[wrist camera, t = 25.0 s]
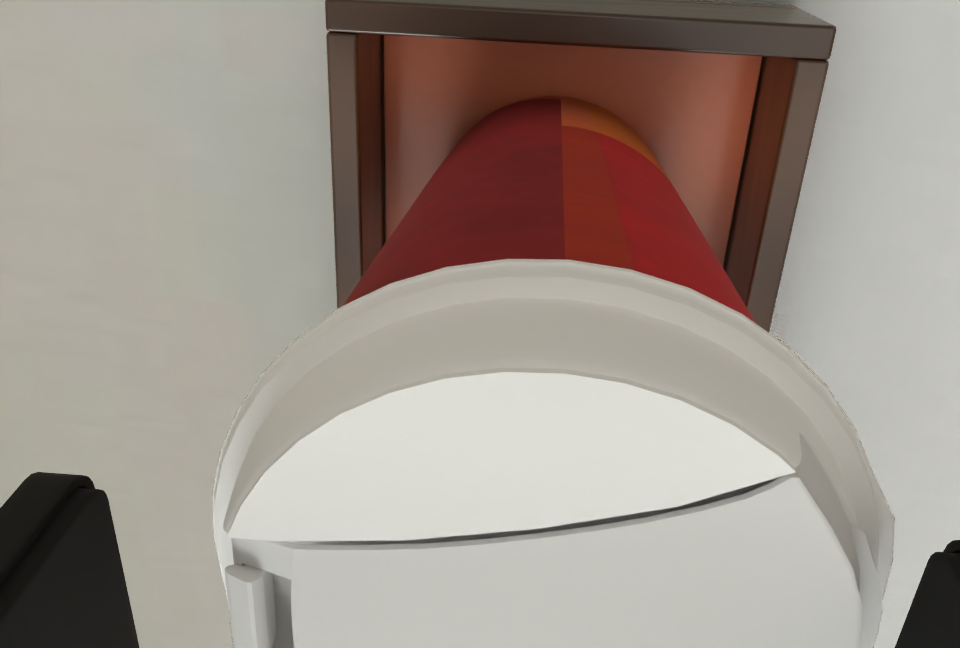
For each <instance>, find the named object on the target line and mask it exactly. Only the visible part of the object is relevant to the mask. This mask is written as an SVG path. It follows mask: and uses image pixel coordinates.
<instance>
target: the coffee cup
mask: <svg viewBox="0 0 960 648" xmlns="http://www.w3.org/2000/svg"><path fill="white" fill-rule="evenodd" d="M894 521H895V518H894V516H893V514H892V512H891V510H890V507H889V505H888V503H887V501H886V499H885V497H884V495H883V492H882V490H881V488H880V486H879V484H878V482H877V480H876V478H875V475H874V473H873V471H872V468H871V466H870V463H869V461H868V459H867V456H866V454H865V451H864V449H863V446H862V444H861V441H860V439H859V437H858V434H857V432H856V429H855V428H854V426H853V424H852V423H851V421H850V420H849V418H848V417H847V415H846V414H845V412H844V411H843V409H842V408H841V407H840V405H839V404H838V402H837V401H836V399H835V398H834V396H833V395H832V393H831V392H830V390H829V389H828V387H827V386H826V384H825V383H824V382H823V381H822V380H821V379H820V378H819V377H818V376H817V375H816V374H815V373H814V372H813V371H812V370H811V369H810V368H809V367H808V366H807V365H806V364H805V363H804V362H803V361H802V360H801V359H800V358H799V357H798V356H797V355H796V354H795V353H794V352H793V351H792V350H791V349H790V348H789V347H788V346H787V345H785V344H784V343H782V342H781V341H780V340H778V339H777V338H775V337H774V336H773V335H771V334H770V333H768V332H767V331H766V330H764V329H763V328H761V327H760V326H759V325H757V324H756V322H755V321H754V319H753V317H752V316H751V314H750V312H749V311H748V309H747V307H746V306H745V304H744V302H743V301H742V299H741V297H740V295H739V294H738V292H737V290H736V289H735V287H734V285H733V284H732V282H731V280H730V279H729V277H728V275H727V274H726V272H725V270H724V269H723V267H722V265H721V264H720V262H719V260H718V259H717V257H716V255H715V254H714V252H713V250H712V249H711V247H710V245H709V244H708V242H707V240H706V239H705V237H704V235H703V234H702V232H701V230H700V229H699V227H698V225H697V224H696V222H695V220H694V219H693V217H692V216H691V214H690V212H689V211H688V209H687V207H686V206H685V204H684V202H683V201H682V199H681V197H680V196H679V194H678V193H677V191H676V189H675V188H674V186H673V185H672V183H671V181H670V180H669V178H668V177H667V175H666V173H665V172H664V170H663V169H662V167H661V165H660V164H659V162H658V161H657V159H656V158H655V157H654V155H653V154H652V152H651V151H650V149H649V148H648V147H647V145H646V144H645V143H644V142H643V140H642V139H641V138H640V137H639V136H638V135H637V134H636V133H635V131H634V130H633V129H632V128H630V127H629V126H628V125H627V124H626V123H625V122H624V121H622V120H621V119H620V118H618V117H617V116H615V115H614V114H612V113H611V112H609V111H607V110H605V109H603V108H601V107H599V106H597V105H594V104H592V103H589V102H586V101H582V100H579V99H574V98H568V97H558V96H546V97H536V98H530V99H525V100H521V101H518V102H514V103H512V104H509V105H506V106H504V107H502V108H500V109H498V110H496V111H494V112H492V113H491V114H489V115H488V116H486V117H485V118H483V119H482V120H481V121H479V122H478V123H477V124H476V125H474V126H473V127H472V128H471V129H470V130H469V131H468V132H467V133H466V134H465V135H464V136H463V137H462V138H461V140H460V141H459V142H458V143H457V144H456V145H455V147H454V148H453V149H452V151H451V152H450V153H449V154H448V156H447V157H446V158H445V160H444V161H443V162H442V164H441V165H440V166H439V168H438V169H437V171H436V172H435V173H434V175H433V176H432V178H431V179H430V180H429V182H428V183H427V184H426V186H425V187H424V189H423V190H422V192H421V193H420V194H419V196H418V197H417V199H416V200H415V202H414V203H413V204H412V206H411V207H410V209H409V210H408V212H407V213H406V214H405V216H404V217H403V219H402V220H401V222H400V223H399V224H398V226H397V227H396V229H395V230H394V232H393V233H392V235H391V236H390V237H389V239H388V240H387V242H386V243H385V245H384V246H383V248H382V249H381V251H380V252H379V254H378V255H377V256H376V258H375V259H374V261H373V262H372V264H371V265H370V267H369V268H368V270H367V271H366V272H365V274H364V275H363V277H362V278H361V280H360V281H359V283H358V284H357V286H356V287H355V288H354V290H353V291H352V293H351V294H350V296H349V297H348V299H347V300H346V301H345V303H344V304H343V306H342V307H340V308H338V309H337V310H335V311H334V312H333V313H331V314H330V315H328V316H327V317H325V318H324V319H323V320H321V321H320V322H318V323H317V324H315V325H314V326H313V327H311V328H310V329H308V330H307V331H305V332H304V333H303V334H301V335H300V336H298V337H297V338H296V339H295V340H294V341H293V342H292V343H291V344H290V345H289V346H288V347H287V348H286V349H285V350H284V351H283V352H282V353H281V354H280V355H279V356H278V357H277V358H276V359H275V360H274V361H273V362H272V363H271V364H270V365H269V366H268V367H267V368H266V369H265V370H264V371H263V373H262V374H261V376H260V377H259V379H258V380H257V382H256V383H255V385H254V386H253V388H252V389H251V391H250V392H249V394H248V395H247V397H246V398H245V400H244V401H243V403H242V404H241V406H240V407H239V409H238V410H237V412H236V414H235V417H234V419H233V422H232V424H231V427H230V429H229V431H228V434H227V436H226V439H225V441H224V443H223V446H222V448H221V451H220V455H219V460H218V466H217V471H216V476H215V482H214V487H213V533H214V538H215V545H216V549H217V554H218V559H219V563H220V568H221V573H222V578H223V583H224V587H225V592H226V597H227V601H228V606H229V614H230V624H231V633H232V642H233V646H234V648H874V645H875V642H876V639H877V636H878V632H879V627H880V621H881V616H882V600H883V596H884V593H885V589H886V585H887V581H888V577H889V573H890V569H891V566H892V562H893V543H894Z"/></svg>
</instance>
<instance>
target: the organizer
mask: <svg viewBox="0 0 960 648" xmlns="http://www.w3.org/2000/svg"><path fill="white" fill-rule="evenodd" d="M325 12H326V29H327V31H329V32H328V33H327V61H328V86H329V111H330V136H331V161H332V186H333V212H334V237H335V262H336V287H337V309H338V308H340V307H342V306H343V304H344V303H345V301H346V300H347V299H348V297H349V296H350V294H351V293H352V291H353V290H354V288H355V287H356V286H357V284H358V283H359V281H360V280H361V278H362V277H363V275H364V274H365V272H366V271H367V270H368V268H369V267H370V265H371V264H372V262H373V261H374V259H375V258H376V256H377V255H378V254H379V252H380V251H381V249H382V248H383V246H384V245H385V243H386V242H387V240H388V239H389V237H390V236H391V235H392V233H393V232H394V230H395V229H396V227H397V226H398V224H399V223H400V222H401V220H402V219H403V217H404V216H405V214H406V213H407V212H408V210H409V209H410V207H411V206H412V204H413V203H414V202H415V200H416V199H417V197H418V196H419V194H420V193H421V192H422V190H423V189H424V187H425V186H426V184H427V183H428V182H429V180H430V179H431V178H432V176H433V175H434V173H435V172H436V171H437V169H438V168H439V166H440V165H441V164H442V162H443V161H444V160H445V158H446V157H447V156H448V154H449V153H450V152H451V151H452V149H453V148H454V147H455V145H456V144H457V143H458V142H459V141H460V140H461V138H462V137H463V136H464V135H465V134H466V133H467V132H468V131H469V130H470V129H471V128H472V127H473V126H474V125H476V124H477V123H478V122H479V121H481V120H482V119H483V118H485V117H486V116H488V115H489V114H491V113H492V112H494V111H496V110H498V109H500V108H502V107H504V106H506V105H509V104H512V103H514V102H518V101H521V100H525V99H530V98H536V97H546V96H558V97H568V98H574V99H579V100H582V101H586V102H589V103H592V104H594V105H597V106H599V107H601V108H603V109H605V110H607V111H609V112H611V113H612V114H614V115H615V116H617V117H618V118H620V119H621V120H622V121H624V122H625V123H626V124H627V125H628V126H629V127H630V128H632V129H633V130H634V131H635V133H636V134H637V135H638V136H639V137H640V138H641V139H642V140H643V142H644V143H645V144H646V145H647V147H648V148H649V149H650V151H651V152H652V154H653V155H654V157H655V158H656V159H657V161H658V162H659V164H660V165H661V167H662V169H663V170H664V172H665V173H666V175H667V177H668V178H669V180H670V181H671V183H672V185H673V186H674V188H675V189H676V191H677V193H678V194H679V196H680V197H681V199H682V201H683V202H684V204H685V206H686V207H687V209H688V211H689V212H690V214H691V216H692V217H693V219H694V220H695V222H696V224H697V225H698V227H699V229H700V230H701V232H702V234H703V235H704V237H705V239H706V240H707V242H708V244H709V245H710V247H711V249H712V250H713V252H714V254H715V255H716V257H717V259H718V260H719V262H720V264H721V265H722V267H723V269H724V270H725V272H726V274H727V275H728V277H729V279H730V280H731V282H732V284H733V285H734V287H735V289H736V290H737V292H738V294H739V295H740V297H741V299H742V301H743V302H744V304H745V306H746V307H747V309H748V311H749V312H750V314H751V316H752V317H753V319H754V321H755V322H756V324H757V325H759V326H760V327H761V328H763V329H764V330H766V331H767V332H768V333H769V329H770V325H771V320H772V316H773V312H774V307H775V303H776V298H777V294H778V289H779V285H780V280H781V276H782V271H783V267H784V262H785V258H786V253H787V249H788V244H789V240H790V235H791V231H792V226H793V222H794V217H795V213H796V208H797V204H798V199H799V195H800V190H801V186H802V182H803V177H804V173H805V168H806V164H807V159H808V155H809V150H810V146H811V141H812V137H813V132H814V128H815V123H816V119H817V114H818V110H819V105H820V101H821V96H822V92H823V87H824V83H825V78H826V74H827V69H828V65H829V63H828V61H827V59H829V58H830V56H831V51H832V47H833V42H834V38H835V33H836V27H835V26H833V25H831V24H829V23H827V22H825V21H823V20H821V19H819V18H817V17H815V16H813V15H811V14H809V13H807V12H805V11H803V10H801V9H799V8H797V7H795V6H786V5H768V4H749V3H730V2H711V1H693V0H326V1H325Z"/></svg>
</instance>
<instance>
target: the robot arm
mask: <svg viewBox="0 0 960 648" xmlns="http://www.w3.org/2000/svg"><path fill="white" fill-rule="evenodd" d="M0 648H139V644H138V639H137V634H136V630H135V625H134V620H133V615H132V611H131V606H130V601H129V596H128V592H127V587H126V582H125V577H124V573H123V568H122V563H121V558H120V554H119V549H118V544H117V539H116V535H115V530H114V525H113V520H112V516H111V511H110V506H109V501H108V498H107V495H106V493H105V492H104V491H103V490H99V489H95V487H94V484H93V482H92V481H91V479H90V478H89V477H87V476H83V475H70V474H56V473H43V472H37V473H34V474H31V475H30V476H29V477H28V478H26V479H25V480H24V481H23V483H22V484H21V485H20V486H19V487H18V488H17V490H16V491H15V492H14V493H13V494H12V495H11V496H10V498H9V499H8V500H7V501H6V502H5V503H4V505H3V506H2V507H1V508H0ZM895 648H960V540H955V541H952V542H950V543H949V544H948V545H947V546H946V548H945V550H944V552H935V553H934V554H932V555H931V557H930V559H929V560H928V563H927V565H926V568H925V570H924V573H923V576H922V578H921V581H920V584H919V586H918V589H917V591H916V594H915V597H914V599H913V602H912V604H911V607H910V610H909V612H908V615H907V617H906V620H905V623H904V625H903V628H902V631H901V633H900V636H899V638H898V641H897V644H896V646H895Z"/></svg>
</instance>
